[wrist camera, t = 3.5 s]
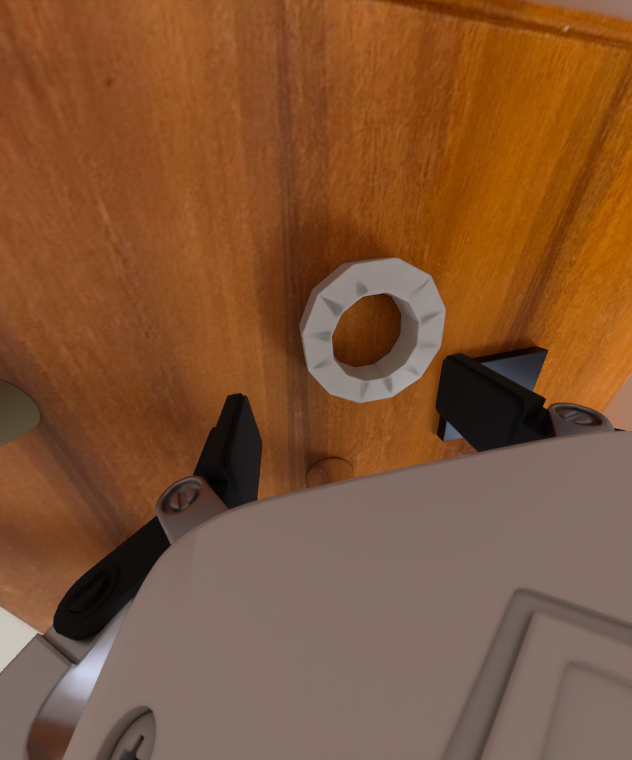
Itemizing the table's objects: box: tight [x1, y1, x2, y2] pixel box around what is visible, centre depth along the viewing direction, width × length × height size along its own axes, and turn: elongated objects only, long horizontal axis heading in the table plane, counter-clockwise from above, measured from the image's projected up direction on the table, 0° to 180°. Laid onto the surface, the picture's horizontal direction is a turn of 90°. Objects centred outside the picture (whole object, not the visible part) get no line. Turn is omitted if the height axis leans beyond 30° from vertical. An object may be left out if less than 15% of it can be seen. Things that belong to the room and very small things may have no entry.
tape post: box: [437, 347, 548, 442], centre depth 21 cm, size 10×10×12 cm
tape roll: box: [299, 257, 446, 403], centre depth 19 cm, size 11×11×3 cm
